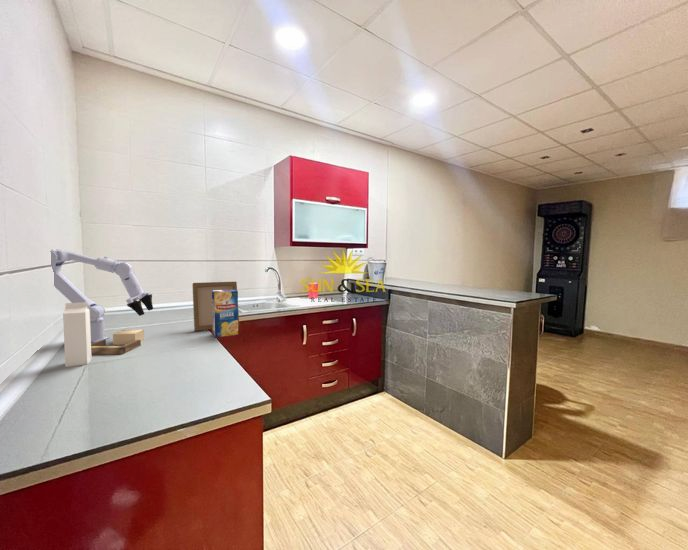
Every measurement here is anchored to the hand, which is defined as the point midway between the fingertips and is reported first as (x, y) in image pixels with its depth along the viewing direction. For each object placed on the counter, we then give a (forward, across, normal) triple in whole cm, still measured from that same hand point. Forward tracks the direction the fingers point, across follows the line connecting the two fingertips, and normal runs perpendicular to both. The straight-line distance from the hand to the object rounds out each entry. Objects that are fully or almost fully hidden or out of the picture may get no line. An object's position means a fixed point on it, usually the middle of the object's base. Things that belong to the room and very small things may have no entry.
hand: (146, 312), depth 143 cm
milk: (+5, -38, +6) cm, 38 cm away
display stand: (+7, -22, +5) cm, 23 cm away
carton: (+9, -12, +6) cm, 16 cm away
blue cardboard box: (+24, 0, -30) cm, 38 cm away
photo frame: (+22, +15, -20) cm, 34 cm away
